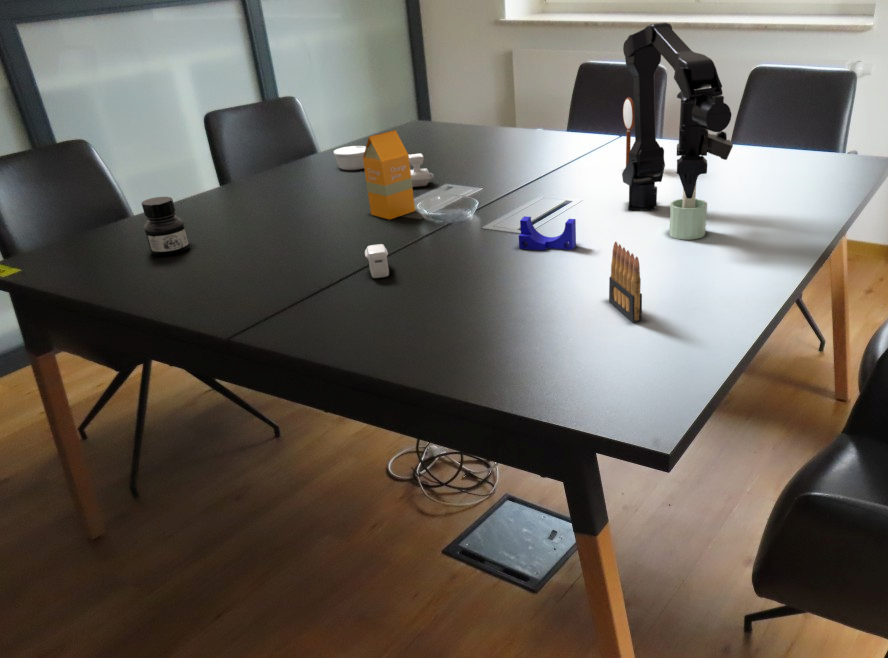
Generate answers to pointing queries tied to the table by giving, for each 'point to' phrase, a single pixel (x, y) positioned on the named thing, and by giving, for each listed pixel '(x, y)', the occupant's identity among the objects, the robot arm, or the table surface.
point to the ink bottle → (164, 227)
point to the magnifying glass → (628, 123)
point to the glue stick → (689, 200)
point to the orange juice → (388, 176)
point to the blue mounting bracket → (539, 242)
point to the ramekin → (350, 157)
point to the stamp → (419, 171)
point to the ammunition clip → (625, 284)
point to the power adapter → (377, 260)
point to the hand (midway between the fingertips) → (689, 196)
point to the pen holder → (688, 220)
